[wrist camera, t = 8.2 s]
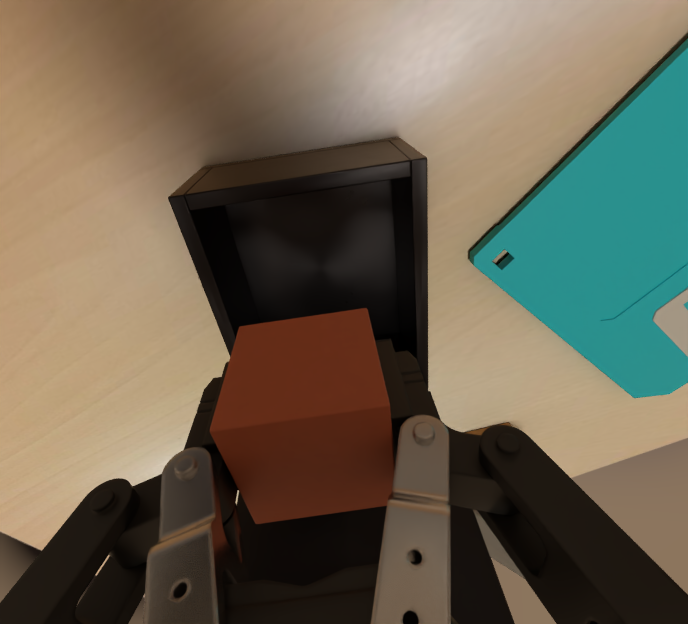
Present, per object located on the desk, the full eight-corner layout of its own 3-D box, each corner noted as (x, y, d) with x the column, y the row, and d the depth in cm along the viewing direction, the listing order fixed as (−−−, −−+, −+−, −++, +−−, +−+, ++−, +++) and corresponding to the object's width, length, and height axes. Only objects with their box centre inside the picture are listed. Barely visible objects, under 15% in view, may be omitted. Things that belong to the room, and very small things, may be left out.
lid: (185, 814, 12) (194, 815, 13) (565, 762, 12) (560, 765, 12) (250, 417, 26) (253, 424, 26) (430, 390, 26) (430, 398, 26)
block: (238, 325, 12) (207, 431, 9) (367, 306, 12) (390, 405, 9) (269, 413, 15) (255, 525, 11) (376, 398, 15) (398, 505, 11)
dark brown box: (202, 166, 23) (167, 197, 18) (399, 136, 23) (427, 157, 18) (263, 354, 32) (253, 415, 26) (407, 333, 32) (428, 389, 26)
